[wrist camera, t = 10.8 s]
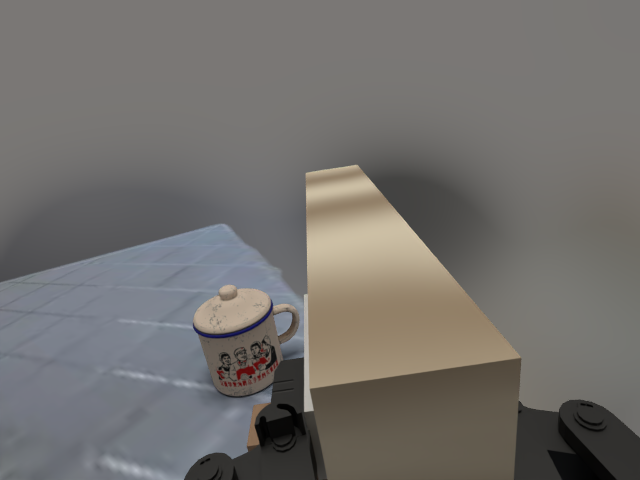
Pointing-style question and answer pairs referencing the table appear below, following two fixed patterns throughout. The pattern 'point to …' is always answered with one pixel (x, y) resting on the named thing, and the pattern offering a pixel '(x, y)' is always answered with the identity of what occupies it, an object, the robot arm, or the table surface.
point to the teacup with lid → (242, 339)
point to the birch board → (399, 348)
